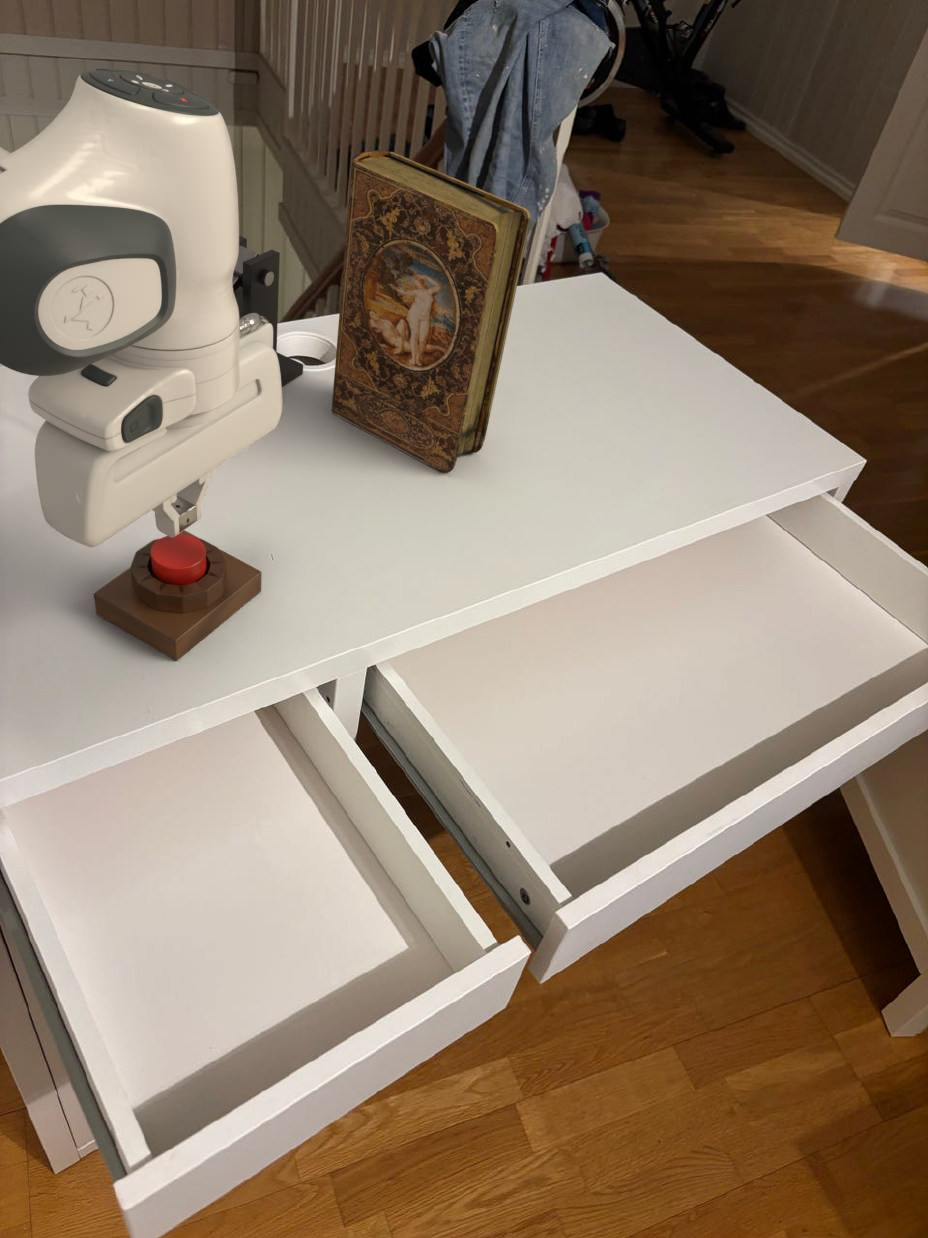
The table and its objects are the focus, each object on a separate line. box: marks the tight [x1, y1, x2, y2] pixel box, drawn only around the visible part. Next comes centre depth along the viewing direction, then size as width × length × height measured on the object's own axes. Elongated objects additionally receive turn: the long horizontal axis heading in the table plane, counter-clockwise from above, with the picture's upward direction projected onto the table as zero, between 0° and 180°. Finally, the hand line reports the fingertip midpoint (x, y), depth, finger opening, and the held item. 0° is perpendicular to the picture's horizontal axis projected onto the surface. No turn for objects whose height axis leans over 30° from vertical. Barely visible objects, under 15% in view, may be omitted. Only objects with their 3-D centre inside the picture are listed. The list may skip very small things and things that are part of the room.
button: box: [151, 534, 206, 585], centre depth 72 cm, size 4×4×2 cm
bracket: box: [234, 235, 304, 387], centre depth 95 cm, size 10×8×14 cm
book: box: [331, 150, 531, 474], centre depth 89 cm, size 16×6×25 cm, turn 56°
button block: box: [92, 529, 263, 661], centre depth 74 cm, size 10×8×4 cm
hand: (179, 525), depth 70 cm, fingers closed
